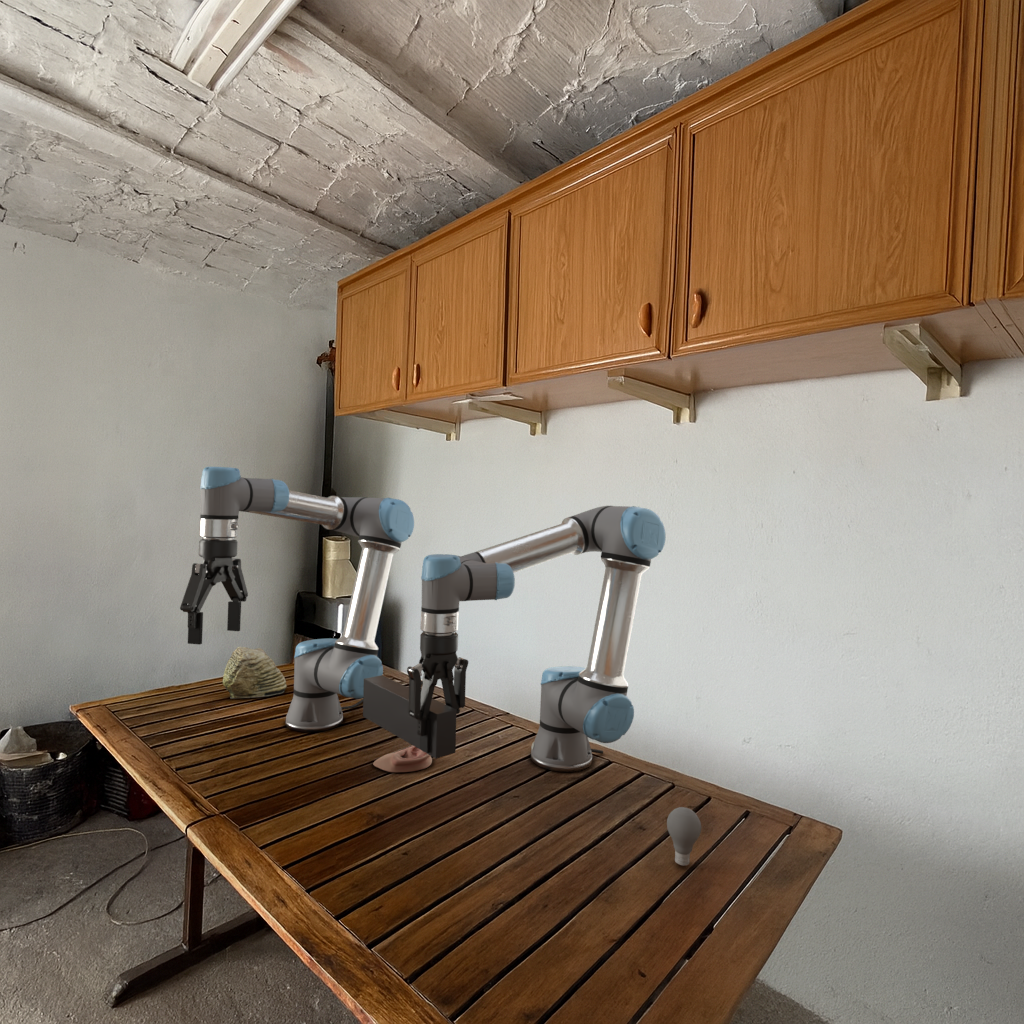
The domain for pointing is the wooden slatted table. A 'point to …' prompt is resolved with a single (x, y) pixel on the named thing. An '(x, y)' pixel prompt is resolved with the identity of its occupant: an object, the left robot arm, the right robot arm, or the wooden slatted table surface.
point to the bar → (390, 712)
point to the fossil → (252, 674)
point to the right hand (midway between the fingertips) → (436, 747)
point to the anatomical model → (404, 760)
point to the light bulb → (683, 832)
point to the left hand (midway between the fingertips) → (215, 637)
